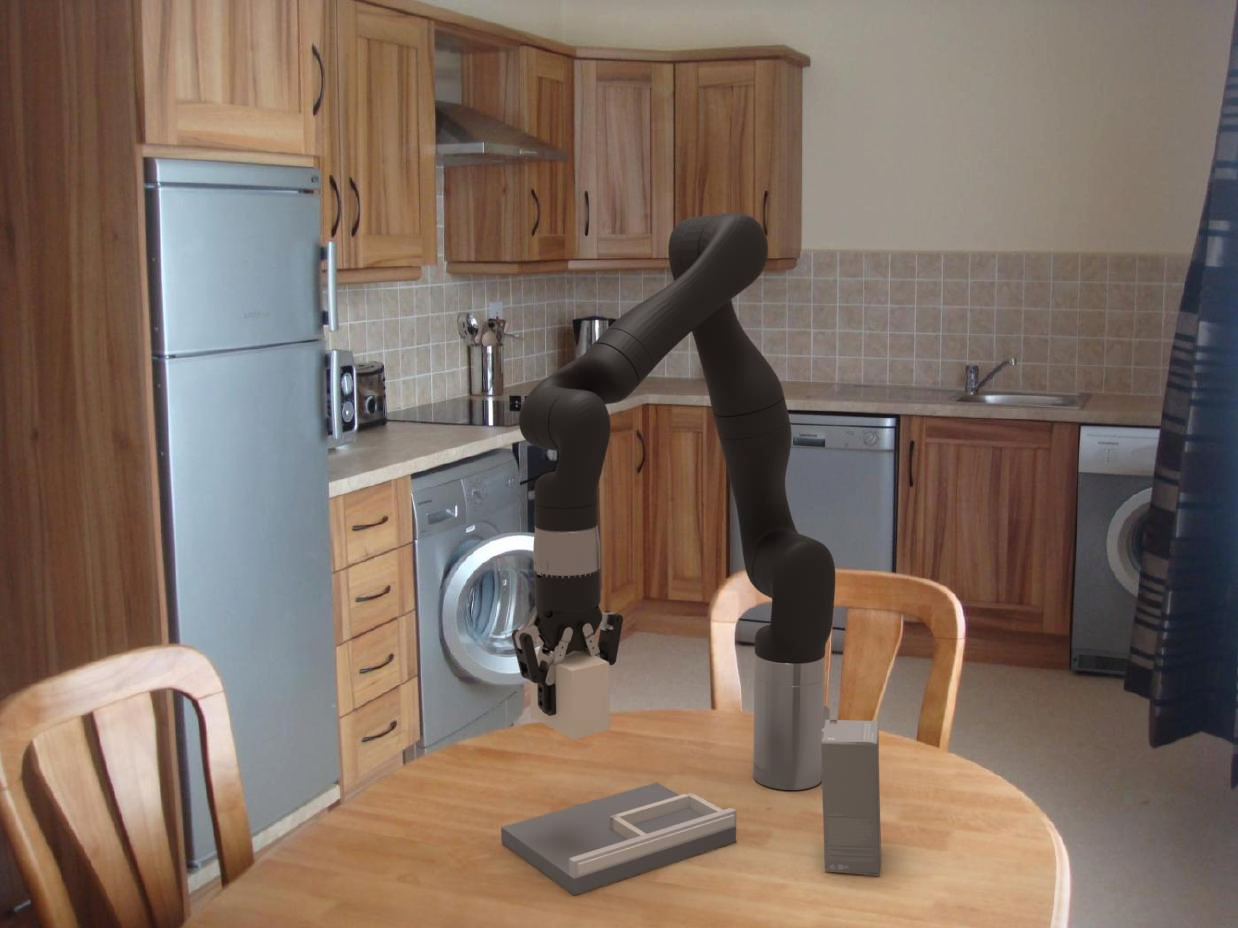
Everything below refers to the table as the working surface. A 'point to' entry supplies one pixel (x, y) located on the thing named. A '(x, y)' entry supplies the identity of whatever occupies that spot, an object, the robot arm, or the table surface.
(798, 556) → the robot arm
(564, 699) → the cream box
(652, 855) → the shelf deck
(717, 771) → the table surface
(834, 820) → the skincare box
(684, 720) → the table surface
